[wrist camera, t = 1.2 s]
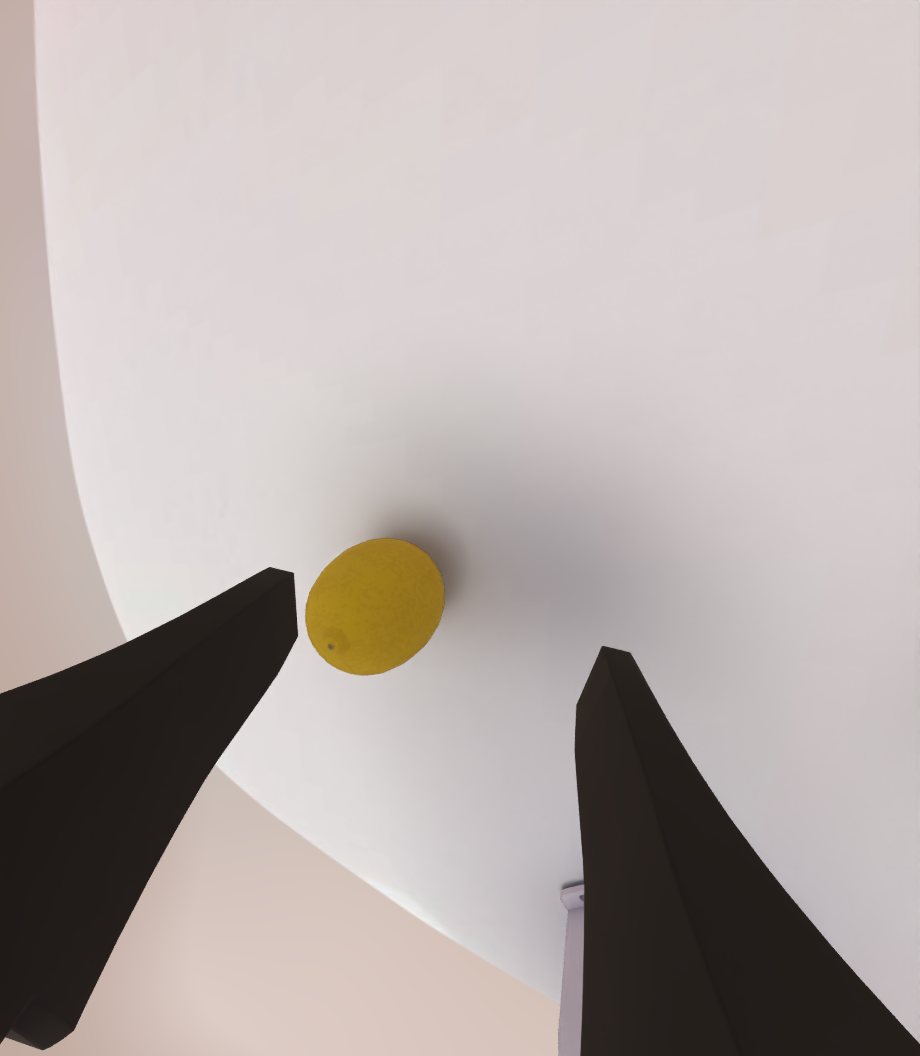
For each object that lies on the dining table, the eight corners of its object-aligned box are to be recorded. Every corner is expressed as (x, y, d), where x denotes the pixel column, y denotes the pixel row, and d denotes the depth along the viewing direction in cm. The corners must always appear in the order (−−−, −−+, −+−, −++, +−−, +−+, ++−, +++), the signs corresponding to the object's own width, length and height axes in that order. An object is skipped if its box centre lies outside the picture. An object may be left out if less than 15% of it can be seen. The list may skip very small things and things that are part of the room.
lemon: (391, 628, 25) (302, 721, 18) (353, 537, 25) (244, 595, 17) (480, 607, 23) (421, 701, 16) (442, 507, 23) (361, 558, 15)
